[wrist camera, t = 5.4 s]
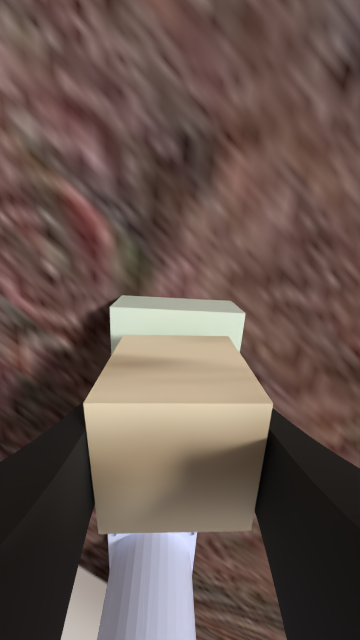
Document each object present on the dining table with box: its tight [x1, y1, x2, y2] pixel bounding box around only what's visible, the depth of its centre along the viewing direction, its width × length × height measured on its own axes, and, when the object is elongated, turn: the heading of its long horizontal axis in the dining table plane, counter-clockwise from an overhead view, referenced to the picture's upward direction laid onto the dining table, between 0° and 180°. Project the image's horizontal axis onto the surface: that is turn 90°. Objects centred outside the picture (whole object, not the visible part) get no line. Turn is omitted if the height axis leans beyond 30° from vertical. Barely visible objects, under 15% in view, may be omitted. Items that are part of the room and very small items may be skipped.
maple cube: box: [83, 335, 273, 534], centre depth 9 cm, size 5×5×5 cm
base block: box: [110, 296, 245, 355], centre depth 14 cm, size 7×7×3 cm
